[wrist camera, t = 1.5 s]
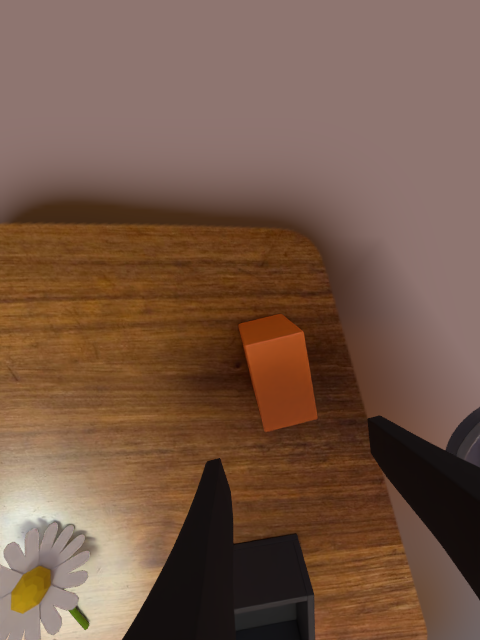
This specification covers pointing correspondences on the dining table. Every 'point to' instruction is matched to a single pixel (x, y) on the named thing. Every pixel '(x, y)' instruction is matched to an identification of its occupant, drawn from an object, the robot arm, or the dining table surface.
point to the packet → (279, 371)
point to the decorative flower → (40, 584)
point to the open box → (272, 591)
